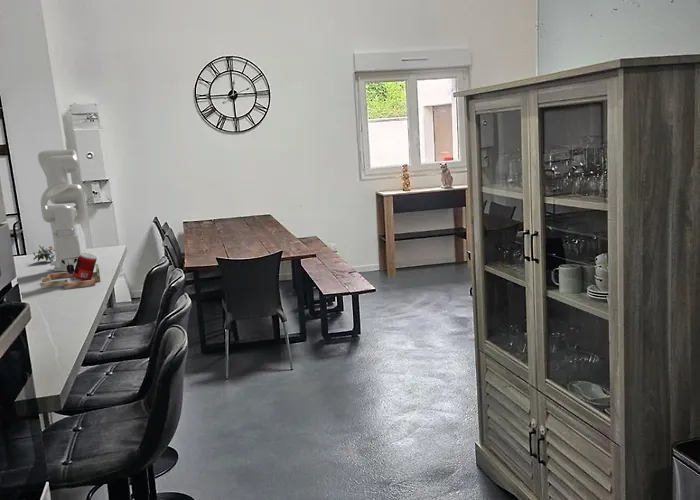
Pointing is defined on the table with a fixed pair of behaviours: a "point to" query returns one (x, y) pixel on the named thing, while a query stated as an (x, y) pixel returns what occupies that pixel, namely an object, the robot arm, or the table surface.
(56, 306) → the table surface
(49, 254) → the passion flower
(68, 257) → the robot arm
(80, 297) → the table surface
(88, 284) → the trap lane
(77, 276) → the canned food
